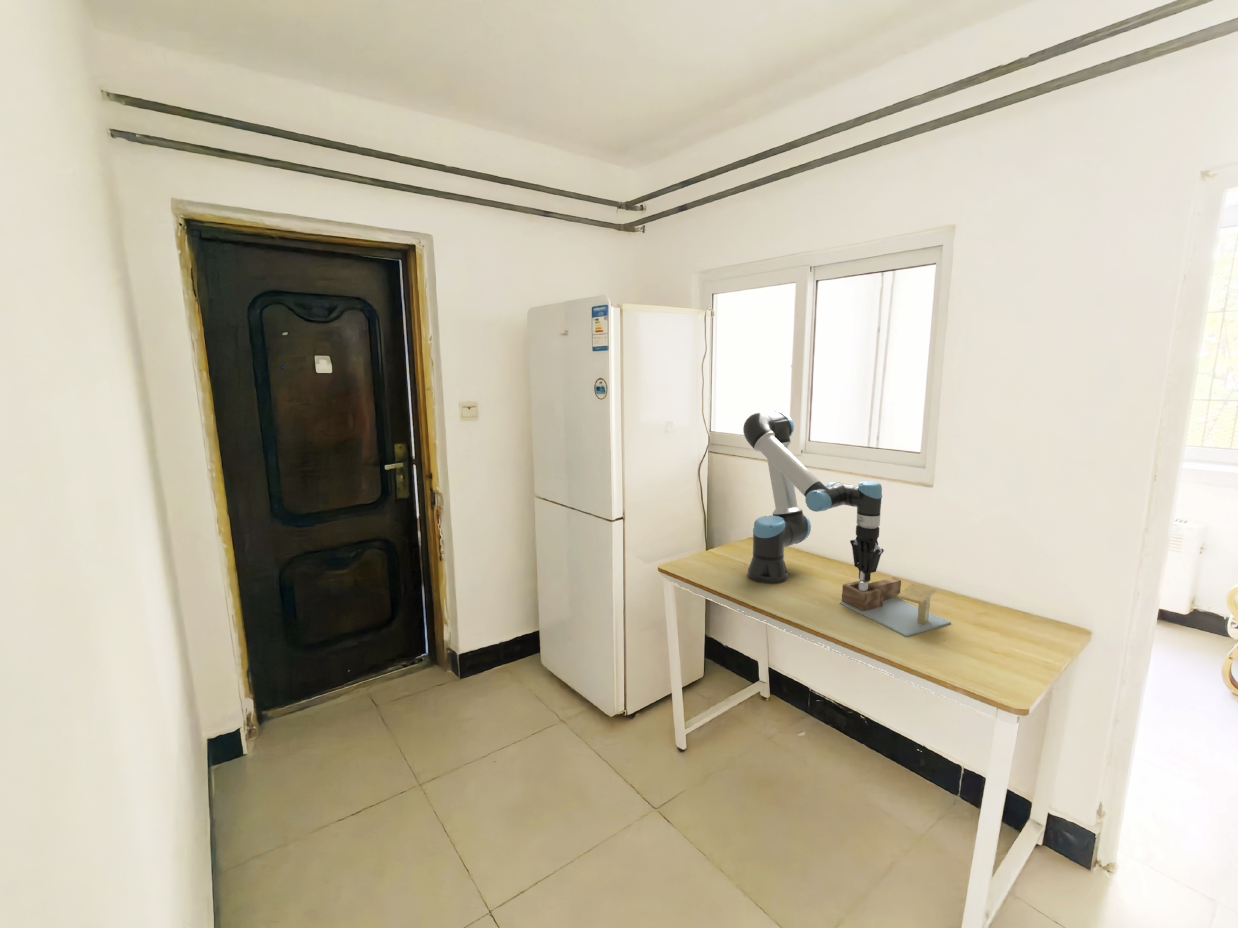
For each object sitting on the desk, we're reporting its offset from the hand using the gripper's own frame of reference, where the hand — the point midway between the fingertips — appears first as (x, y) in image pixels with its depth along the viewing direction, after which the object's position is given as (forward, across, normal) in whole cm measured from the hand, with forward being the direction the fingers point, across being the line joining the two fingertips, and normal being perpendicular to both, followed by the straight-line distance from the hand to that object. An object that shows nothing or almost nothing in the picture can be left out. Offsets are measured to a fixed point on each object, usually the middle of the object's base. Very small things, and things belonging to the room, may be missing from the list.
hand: (863, 588), depth 191 cm
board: (+2, +16, -4) cm, 16 cm away
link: (+1, +7, -2) cm, 8 cm away
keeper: (+2, +23, -2) cm, 23 cm away
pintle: (+2, +7, -8) cm, 11 cm away
